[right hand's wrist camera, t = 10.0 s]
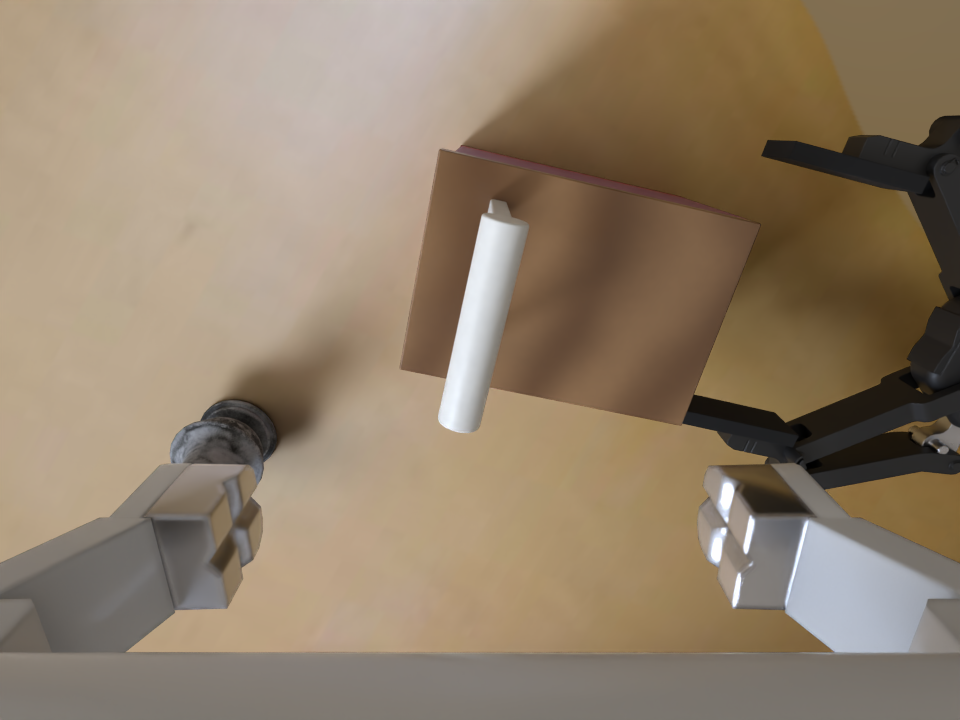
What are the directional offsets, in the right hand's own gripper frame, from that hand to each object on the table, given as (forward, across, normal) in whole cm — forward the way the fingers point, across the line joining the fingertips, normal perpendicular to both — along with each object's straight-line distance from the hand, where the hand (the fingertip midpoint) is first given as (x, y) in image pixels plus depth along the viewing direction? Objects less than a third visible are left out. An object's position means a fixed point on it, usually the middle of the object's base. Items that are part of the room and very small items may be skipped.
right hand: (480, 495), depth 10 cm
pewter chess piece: (+26, +17, +13) cm, 34 cm away
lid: (+17, -4, +1) cm, 17 cm away
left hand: (+20, -12, +1) cm, 23 cm away
